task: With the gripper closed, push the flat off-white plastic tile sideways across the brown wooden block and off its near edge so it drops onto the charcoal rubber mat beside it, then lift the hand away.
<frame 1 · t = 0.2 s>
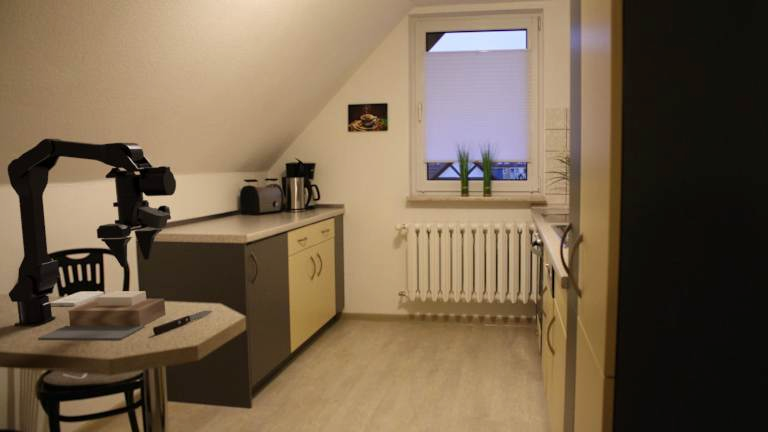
hand: (135, 263, 145), 14 cm above the table, tool pointing down, fingers open, 9 cm apart
brown wooden block: (119, 320, 148), on the table
mat: (92, 333, 138), on the table
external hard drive: (77, 303, 173), on the table
tile: (122, 302, 150), point 4 cm above the table, touching brown wooden block
kitchen knife: (185, 325, 142), on the table
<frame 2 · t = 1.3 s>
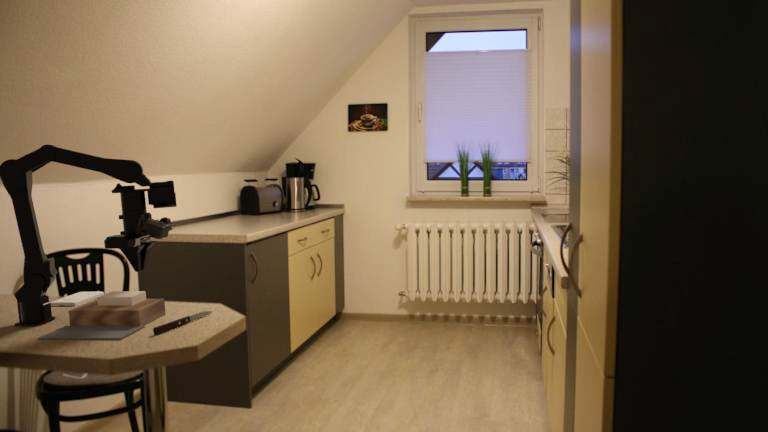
hand: (139, 270, 157), 10 cm above the table, tool pointing down, fingers closed
nothing on the table moved.
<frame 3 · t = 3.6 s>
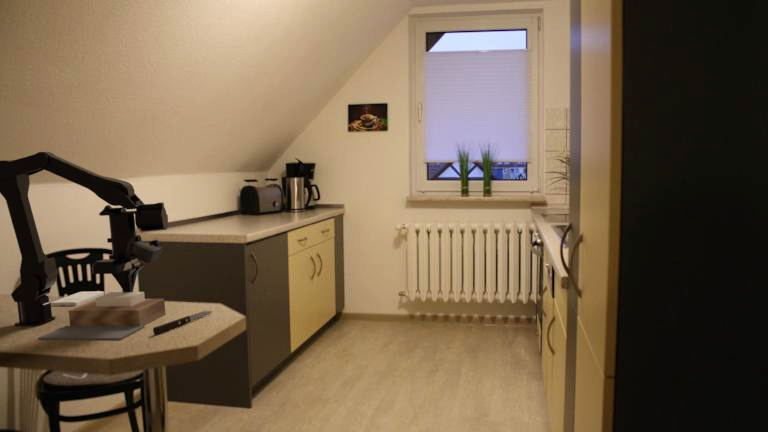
hand: (129, 295, 153), 5 cm above the table, tool pointing down, fingers closed
tile: (120, 303, 149), point 4 cm above the table, touching brown wooden block, gripper
everything else where it was.
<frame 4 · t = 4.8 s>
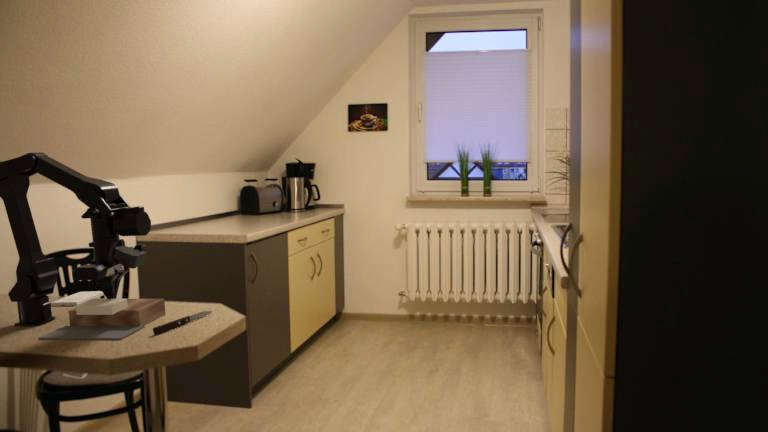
hand: (112, 302, 146), 5 cm above the table, tool pointing down, fingers closed
tile: (102, 310, 142), point 4 cm above the table, touching brown wooden block, gripper
everything else where it was.
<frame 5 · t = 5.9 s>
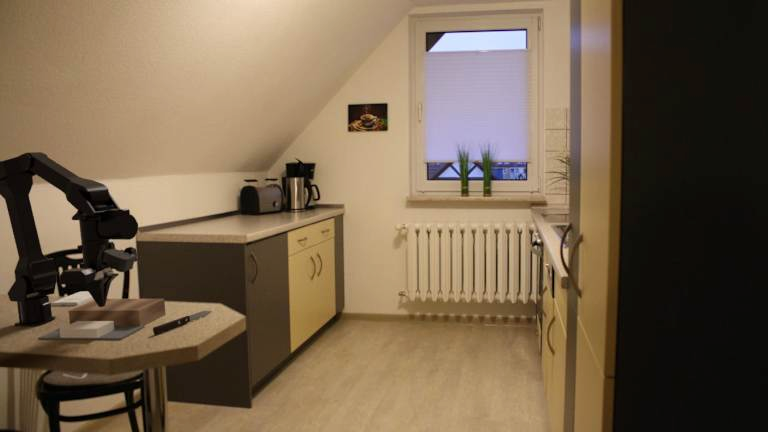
hand: (101, 306, 142), 5 cm above the table, tool pointing down, fingers closed
tile: (86, 324, 137), point 2 cm above the table, tilted 180°, touching mat
everything else where it was.
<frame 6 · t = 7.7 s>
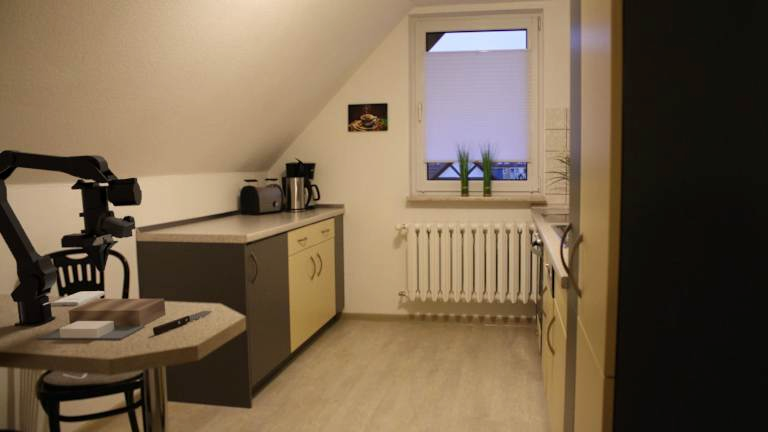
hand: (101, 271, 151), 12 cm above the table, tool pointing down, fingers closed
nothing on the table moved.
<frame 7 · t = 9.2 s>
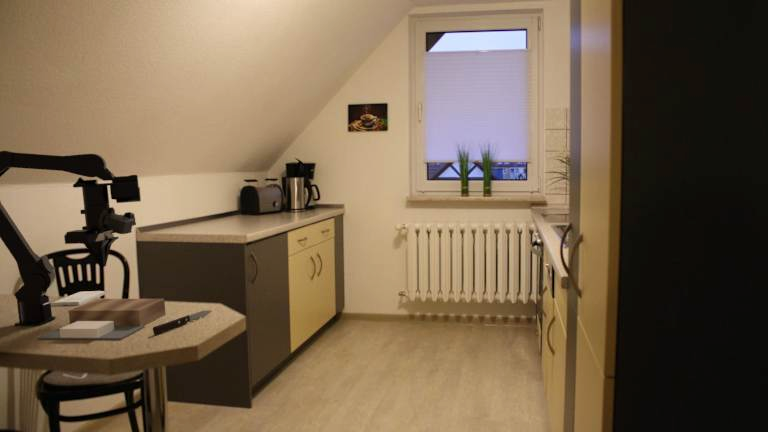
hand: (102, 266, 155), 12 cm above the table, tool pointing down, fingers closed
nothing on the table moved.
at the end: tile inside the target area (1.7 cm from its centre), point 2.4 cm above the table; tile touching mat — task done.
